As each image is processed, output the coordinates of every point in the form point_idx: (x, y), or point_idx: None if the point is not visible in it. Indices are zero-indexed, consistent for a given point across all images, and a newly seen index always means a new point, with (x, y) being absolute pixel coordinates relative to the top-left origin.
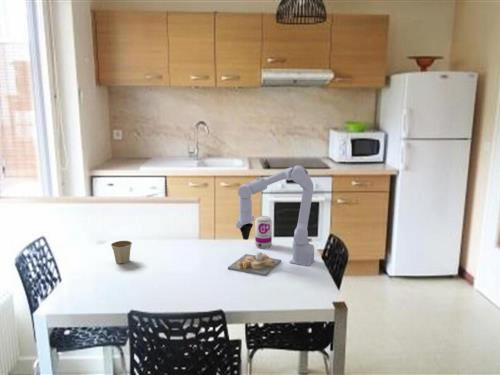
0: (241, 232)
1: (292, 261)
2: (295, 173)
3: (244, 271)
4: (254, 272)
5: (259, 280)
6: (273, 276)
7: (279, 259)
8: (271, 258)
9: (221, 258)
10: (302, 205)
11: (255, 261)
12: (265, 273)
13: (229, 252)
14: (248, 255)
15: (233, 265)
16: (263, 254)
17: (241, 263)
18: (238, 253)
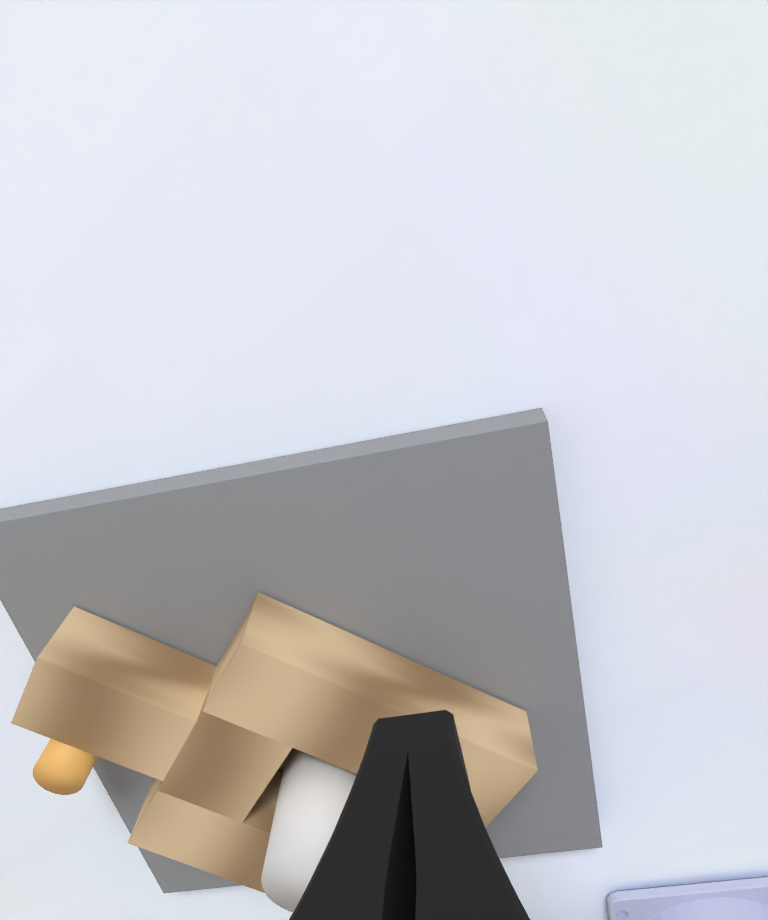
0: (299, 903)
1: (635, 916)
2: None
3: None
4: (121, 806)
5: (63, 874)
6: (223, 912)
7: (599, 834)
8: (579, 764)
9: (188, 130)
10: None
11: (216, 820)
12: (175, 889)
13: (534, 21)
14: (509, 492)
15: (60, 552)
16: (496, 779)
17: (41, 730)
18: (580, 223)
